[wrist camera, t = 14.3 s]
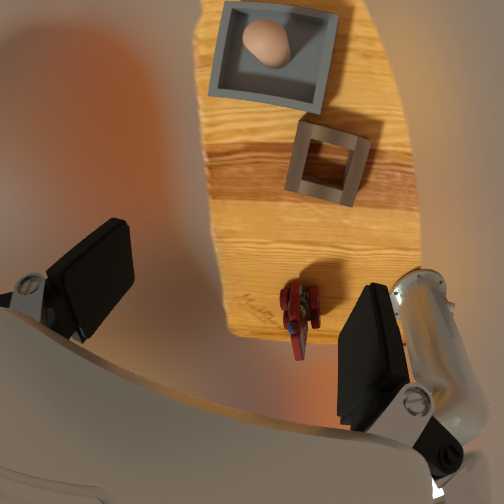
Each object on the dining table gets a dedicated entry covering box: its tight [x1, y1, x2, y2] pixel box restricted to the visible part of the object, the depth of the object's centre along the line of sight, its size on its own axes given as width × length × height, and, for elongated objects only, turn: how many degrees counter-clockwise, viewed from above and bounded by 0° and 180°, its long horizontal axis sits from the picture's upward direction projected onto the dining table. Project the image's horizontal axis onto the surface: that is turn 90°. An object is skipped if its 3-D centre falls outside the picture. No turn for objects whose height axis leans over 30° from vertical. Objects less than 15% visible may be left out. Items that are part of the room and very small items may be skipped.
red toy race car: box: [280, 282, 320, 361], centre depth 47 cm, size 7×12×10 cm, turn 12°
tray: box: [208, 1, 339, 115], centre depth 29 cm, size 15×15×4 cm
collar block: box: [284, 120, 372, 207], centre depth 36 cm, size 10×10×4 cm
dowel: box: [243, 19, 291, 69], centre depth 25 cm, size 4×4×11 cm
